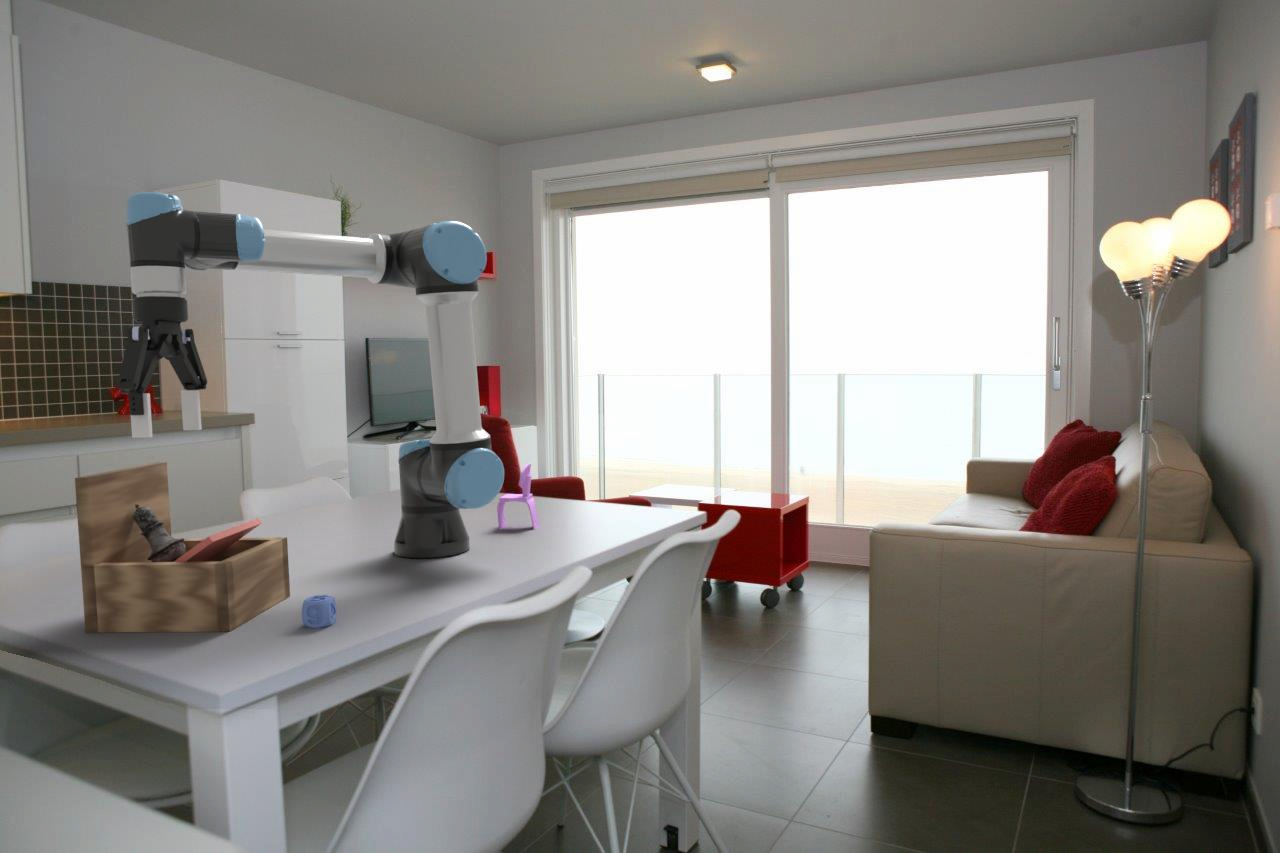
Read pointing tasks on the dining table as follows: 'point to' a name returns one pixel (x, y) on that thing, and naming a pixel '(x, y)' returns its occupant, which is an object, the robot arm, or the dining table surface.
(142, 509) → the salt shaker
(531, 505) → the toy chair
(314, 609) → the decorative dice
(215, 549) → the trapdoor
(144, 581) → the wooden box
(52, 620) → the dining table surface
